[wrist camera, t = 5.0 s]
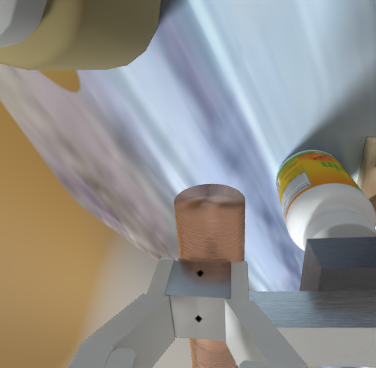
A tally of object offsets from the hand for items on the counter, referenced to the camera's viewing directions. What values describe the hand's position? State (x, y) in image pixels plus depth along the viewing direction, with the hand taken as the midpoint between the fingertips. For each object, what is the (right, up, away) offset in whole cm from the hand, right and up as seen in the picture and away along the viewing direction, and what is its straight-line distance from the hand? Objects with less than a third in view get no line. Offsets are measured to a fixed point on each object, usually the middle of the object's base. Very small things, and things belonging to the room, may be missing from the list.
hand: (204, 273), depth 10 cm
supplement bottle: (+10, +4, +15) cm, 19 cm away
